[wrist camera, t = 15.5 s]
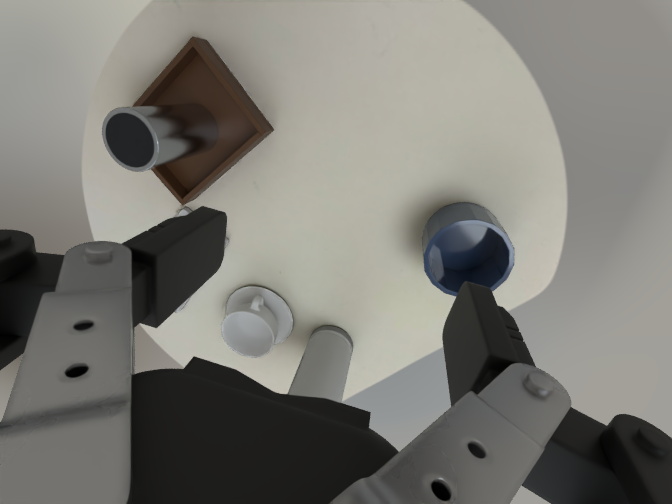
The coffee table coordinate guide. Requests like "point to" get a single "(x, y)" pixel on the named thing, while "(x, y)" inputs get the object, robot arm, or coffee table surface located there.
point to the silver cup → (158, 134)
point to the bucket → (466, 248)
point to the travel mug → (324, 365)
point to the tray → (225, 105)
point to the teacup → (255, 321)
